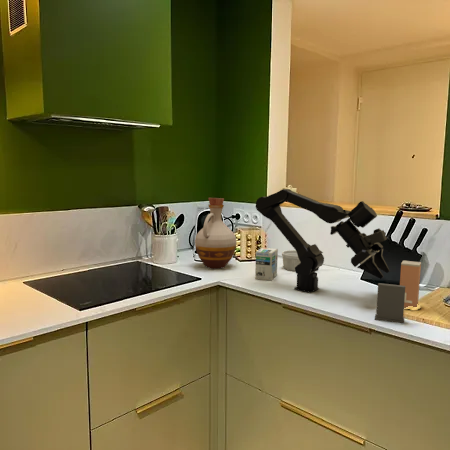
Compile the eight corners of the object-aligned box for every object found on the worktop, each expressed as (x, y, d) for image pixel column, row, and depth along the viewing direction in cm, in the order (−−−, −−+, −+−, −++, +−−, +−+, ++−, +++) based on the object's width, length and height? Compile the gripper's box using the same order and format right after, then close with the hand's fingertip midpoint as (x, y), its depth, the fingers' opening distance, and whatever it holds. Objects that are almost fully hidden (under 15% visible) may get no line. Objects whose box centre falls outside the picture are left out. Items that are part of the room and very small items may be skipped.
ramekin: (311, 273, 171) (312, 256, 170) (279, 271, 175) (279, 254, 174) (313, 266, 184) (314, 251, 183) (283, 264, 187) (284, 249, 187)
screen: (374, 319, 117) (376, 284, 116) (375, 316, 120) (377, 282, 119) (404, 323, 114) (406, 288, 113) (404, 320, 117) (406, 285, 116)
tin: (398, 306, 128) (400, 263, 126) (400, 301, 132) (403, 260, 131) (416, 309, 125) (419, 265, 124) (418, 304, 130) (421, 262, 128)
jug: (223, 274, 167) (224, 199, 164) (185, 269, 175) (185, 197, 171) (242, 265, 185) (243, 197, 181) (206, 261, 192) (207, 195, 189)
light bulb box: (271, 281, 158) (272, 253, 157) (254, 279, 160) (255, 251, 159) (277, 274, 168) (278, 248, 167) (261, 273, 170) (261, 247, 169)
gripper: (364, 223, 124) (400, 265, 120) (378, 218, 140) (411, 254, 136) (336, 246, 130) (370, 287, 125) (353, 239, 145) (384, 274, 141)
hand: (385, 274), depth 132 cm, fingers open, 9 cm apart
